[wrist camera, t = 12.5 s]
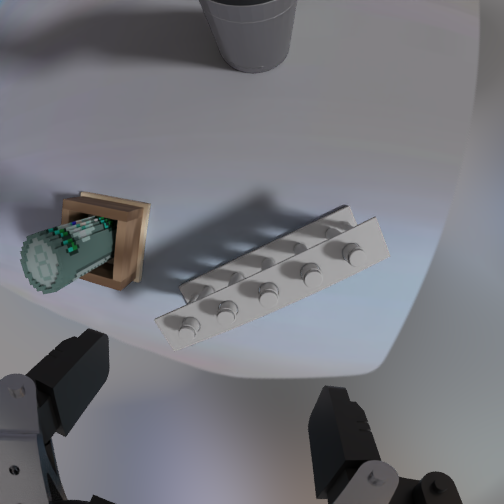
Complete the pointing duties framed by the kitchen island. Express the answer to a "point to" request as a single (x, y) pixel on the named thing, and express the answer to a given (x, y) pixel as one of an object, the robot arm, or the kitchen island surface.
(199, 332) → the test tube rack
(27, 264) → the can
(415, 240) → the kitchen island surface
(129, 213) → the sleeve holder
